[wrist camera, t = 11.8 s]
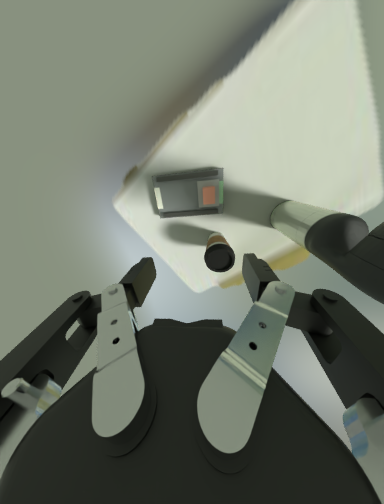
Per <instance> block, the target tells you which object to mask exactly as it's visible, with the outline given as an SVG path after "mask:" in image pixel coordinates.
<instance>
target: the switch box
mask: <svg viewBox="0 0 384 504" xmlns="http://www.w3.org/2000/svg"><path fill="white" fill-rule="evenodd" d="M215 179H219V206H212V207H200V208H199V201H198V187H197V181H205V180H215ZM152 180H153V185H154V191H155V196H156V200H157V205H158V209H159V214H160V218H172V217H184V216H197V215H210V214H223V168H219V169H210V170H202V171H193V172H185V173H176V174H168V175H160V176H152Z"/></svg>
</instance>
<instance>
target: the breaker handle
mask: <svg viewBox="0 0 384 504" xmlns="http://www.w3.org/2000/svg"><path fill="white" fill-rule="evenodd" d="M197 187H198V201H199V208H200V207H212V206H219V179H215V180H205V181H197Z"/></svg>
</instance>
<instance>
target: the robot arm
mask: <svg viewBox="0 0 384 504" xmlns="http://www.w3.org/2000/svg"><path fill="white" fill-rule="evenodd" d="M270 221H271V224H272V226H273V227H274V228H276V229H277V230H278V231H280V232H281V233H283V234H284V235H285V236H287V237H288V238H290V239H291V240H293V241H294V242H296V243H297V244H298V245H300V246H301V247H303V248H304V249H306V250H307V251H309V252H310V253H312V254H313V255H315V256H316V257H318V258H319V259H320V260H322V261H323V262H324V263H326V264H327V265H328V266H330V267H331V268H333V270H335V271H336V272H337V273H338V274H340V275H341V276H342V277H343V278H345V279H346V280H347V281H348V282H350V283H351V284H352V285H354V286H355V287H357V288H358V289H359V290H361V291H362V292H364V293H365V294H367V295H368V296H370V297H372V298H373V299H375V300H377V301H379V302H380V303H382V304H384V222H383V223H382V224H380V225H379V226H377V227H376V228H375V229H374V230H372V231H371V232H370V233H369V230H368V226H367V224H366V222H365V221H364V220H363V219H361V218H359V217H357V216H354V215H350V214H346V213H341V212H337V211H333V210H328V209H324V208H320V207H316V206H312V205H308V204H303V203H300V202H295V201H286V202H283V203H281V204H280V205H278V206H277V207H276V208H275V209H274V210H273V212H272V214H271V218H270ZM368 233H369V234H368ZM242 274H243V278H244V280H245V283H246V285H247V288H248V290H249V293H250V295H251V298H252V301H253V303H254V305H253V306H252V307H251V309H250V311H249V312H248V314H247V316H246V318H245V319H244V321H243V322H242V324H241V326H240V328H239V329H238V331H237V332H236V331H235V330H233V329H231V328H229V327H226V326H223V324H222V320H208V319H206V320H200V321H196V322H191V323H183V322H180V321H176V320H173V319H155V320H154V323H153V324H152V325H149V326H147V327H144V328H143V329H141V330H140V329H139V326H138V323H137V319H136V316H135V312H134V310H133V309H134V308H135V307H141V306H142V304H143V302H144V300H145V298H146V296H147V294H148V292H149V290H150V288H151V286H152V284H153V282H154V280H155V278H156V269H155V266H154V262H153V259H152V258H151V257H147V258H142V259H141V261H140V262H139V263H137V264H135V265H134V266H133V267H132V268H131V269H130V271H128V273H127V274H126V275H125V276H124V277H123V279H122V280H121V281H120V282H119V283H118V284H113V285H111V286H109V287H107V288H106V289H105V290H104V291H103V292H102V294H98V295H94V296H91V294H90V292H89V291H82V292H78V293H76V294H74V295H72V296H71V297H69V298H68V299H67V300H66V301H65V302H64V303H63V304H62V305H61V306H60V307H58V308H57V309H56V311H54V312H53V313H52V314H51V315H50V316H49V317H48V318H47V319H46V320H44V321H43V322H42V323H41V324H40V325H39V326H38V327H37V328H36V329H35V330H33V331H32V332H31V333H30V334H29V335H28V336H27V337H26V338H25V339H24V340H23V341H21V342H20V343H19V344H18V345H17V346H16V347H15V348H14V349H13V350H12V351H11V352H10V353H8V354H7V355H6V356H5V357H4V358H3V359H2V360H1V361H0V504H384V334H383V333H382V332H381V331H379V329H377V328H376V327H375V326H374V325H373V324H372V323H371V322H370V321H369V320H368V319H367V318H365V317H364V316H363V315H362V314H361V313H360V312H359V311H358V310H357V309H356V308H355V307H353V306H352V305H351V304H350V303H349V302H348V301H347V300H346V299H345V298H344V297H342V296H341V295H339V294H337V293H335V292H332V291H330V290H326V289H316V290H314V291H313V293H312V295H310V294H305V293H300V292H296V291H295V290H294V288H292V286H290V285H289V284H287V283H284V282H281V281H280V280H279V279H278V277H277V276H276V275H275V273H274V272H273V271H272V269H271V268H270V267H269V265H268V264H267V263H266V262H265V261H263V260H262V259H257V257H256V256H255V254H254V253H250V254H244V256H243V266H242ZM76 320H77V321H78V323H79V324H80V326H79V327H78V328H77V329H76V331H75V332H74V333H73V334H72V335H71V337H70V338H69V339H68V340H66V338H65V336H66V332H67V331H68V329H69V328H70V327H71V326H72V325H73V324H74V322H75V321H76ZM285 325H286V326H290V327H293V328H297V329H300V330H301V331H302V333H303V334H304V336H305V338H306V340H307V341H308V343H309V345H310V347H311V348H312V350H313V352H314V354H315V355H316V357H317V359H318V361H319V362H320V364H321V366H322V368H323V369H324V371H325V373H326V375H327V376H328V378H329V380H330V381H331V383H332V385H333V387H334V388H335V390H336V392H337V394H338V396H339V397H340V399H341V401H342V403H343V404H344V406H345V408H346V410H345V412H344V413H343V424H344V427H345V430H346V432H347V435H348V437H349V440H350V443H351V448H352V453H351V451H350V450H349V449H348V447H347V446H346V445H345V444H344V443H343V441H342V440H341V439H340V438H339V437H338V436H337V435H336V434H335V432H334V431H333V430H332V429H331V428H330V427H329V426H328V425H327V424H326V423H325V422H324V421H323V420H322V419H321V418H320V417H319V416H318V415H317V414H316V413H315V411H314V410H313V409H312V408H311V407H310V406H309V405H308V404H307V403H306V402H305V401H304V400H303V399H302V398H301V397H300V396H299V395H298V394H297V393H296V392H295V391H294V390H293V388H291V386H290V385H289V384H288V383H286V381H285V380H284V379H283V378H282V377H281V376H280V375H279V374H278V373H277V372H276V371H275V370H274V369H273V368H272V364H273V362H274V358H275V355H276V352H277V349H278V346H279V343H280V340H281V337H282V333H283V330H284V327H285ZM96 335H97V367H95V368H94V369H93V370H92V371H90V372H89V373H88V374H87V375H86V376H85V377H83V378H82V379H81V380H80V381H79V382H78V383H76V384H75V385H74V386H73V387H72V388H71V389H70V390H68V391H67V392H66V393H65V394H63V395H62V396H61V397H60V395H61V390H62V389H63V387H64V386H65V384H66V383H67V381H68V380H69V378H70V376H71V375H72V373H73V372H74V370H75V369H76V367H77V365H78V364H79V362H80V361H81V359H82V358H83V356H84V355H85V353H86V351H87V350H88V348H89V347H90V345H91V344H92V342H93V341H94V339H95V337H96Z"/></svg>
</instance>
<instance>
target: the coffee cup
mask: <svg viewBox="0 0 384 504" xmlns="http://www.w3.org/2000/svg"><path fill="white" fill-rule="evenodd" d="M204 260H205V263H206V265H207V267H208V268H209V269H210V270H212V271H215V272H225V271H228V270H229V269H231V268H232V267H233V265H234V261H235V254H234V251H233V250H232V248H231V247H230V246H229V244H228V243H227V241H226V239H225V238H224V236H223V235H222V234H221V233H218V232H215V233H212V234H211V235H210V236H209V238H208V243H207V248H206V252H205V255H204Z"/></svg>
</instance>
